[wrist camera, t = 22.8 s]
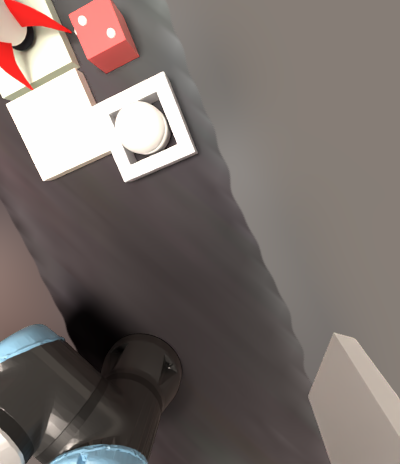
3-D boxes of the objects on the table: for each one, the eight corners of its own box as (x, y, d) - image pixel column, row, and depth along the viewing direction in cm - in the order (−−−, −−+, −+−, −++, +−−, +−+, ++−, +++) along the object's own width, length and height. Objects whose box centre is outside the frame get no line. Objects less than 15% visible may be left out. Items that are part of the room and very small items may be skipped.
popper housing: (197, 153, 47) (194, 151, 43) (133, 181, 49) (124, 182, 45) (169, 79, 45) (163, 71, 41) (103, 112, 47) (91, 106, 43)
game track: (116, 151, 48) (110, 150, 46) (52, 180, 50) (43, 180, 48) (43, -19, 44) (32, -30, 42) (-24, 22, 46) (-38, 13, 44)
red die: (139, 56, 45) (124, 37, 38) (102, 75, 46) (81, 59, 39) (121, 12, 44) (102, -15, 37) (84, 32, 45) (60, 10, 38)
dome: (177, 144, 46) (167, 139, 38) (137, 162, 47) (120, 160, 40) (159, 99, 45) (145, 86, 37) (119, 119, 46) (97, 109, 39)
